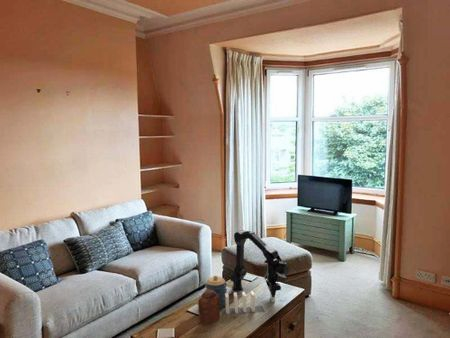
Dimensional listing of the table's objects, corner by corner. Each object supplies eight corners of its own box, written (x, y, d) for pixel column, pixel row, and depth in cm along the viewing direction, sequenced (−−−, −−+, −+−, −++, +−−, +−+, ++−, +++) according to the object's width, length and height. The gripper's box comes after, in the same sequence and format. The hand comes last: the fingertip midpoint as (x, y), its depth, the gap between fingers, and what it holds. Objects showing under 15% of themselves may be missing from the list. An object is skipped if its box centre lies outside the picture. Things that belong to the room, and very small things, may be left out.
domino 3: (242, 308, 203) (242, 291, 202) (245, 307, 203) (244, 291, 202) (243, 312, 198) (243, 295, 197) (246, 312, 198) (246, 295, 197)
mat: (221, 309, 203) (221, 308, 203) (262, 306, 205) (262, 305, 205) (222, 315, 196) (222, 315, 196) (265, 312, 198) (265, 311, 198)
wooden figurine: (215, 315, 196) (214, 285, 194) (221, 320, 191) (220, 289, 189) (197, 322, 190) (195, 291, 188) (203, 328, 184) (201, 295, 182)
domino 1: (225, 309, 202) (225, 293, 201) (228, 309, 202) (227, 293, 201) (226, 313, 197) (226, 297, 196) (229, 313, 197) (228, 297, 196)
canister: (231, 302, 211) (230, 274, 209) (216, 311, 201) (216, 282, 200) (216, 296, 220) (215, 269, 218) (201, 304, 210) (200, 276, 208)
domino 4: (250, 307, 204) (250, 291, 203) (253, 307, 204) (253, 291, 203) (252, 311, 199) (251, 295, 198) (255, 311, 199) (254, 295, 198)
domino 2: (234, 308, 203) (233, 292, 202) (236, 308, 203) (236, 292, 202) (235, 313, 198) (234, 296, 197) (237, 313, 198) (237, 296, 197)
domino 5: (270, 298, 214) (270, 283, 213) (272, 298, 215) (272, 283, 214) (272, 302, 209) (272, 286, 208) (274, 302, 210) (274, 286, 209)
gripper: (289, 276, 202) (289, 301, 203) (281, 264, 220) (281, 287, 222) (270, 277, 200) (271, 302, 202) (263, 265, 219) (264, 288, 221)
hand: (272, 295), depth 212 cm, fingers closed on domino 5, 5 cm apart
